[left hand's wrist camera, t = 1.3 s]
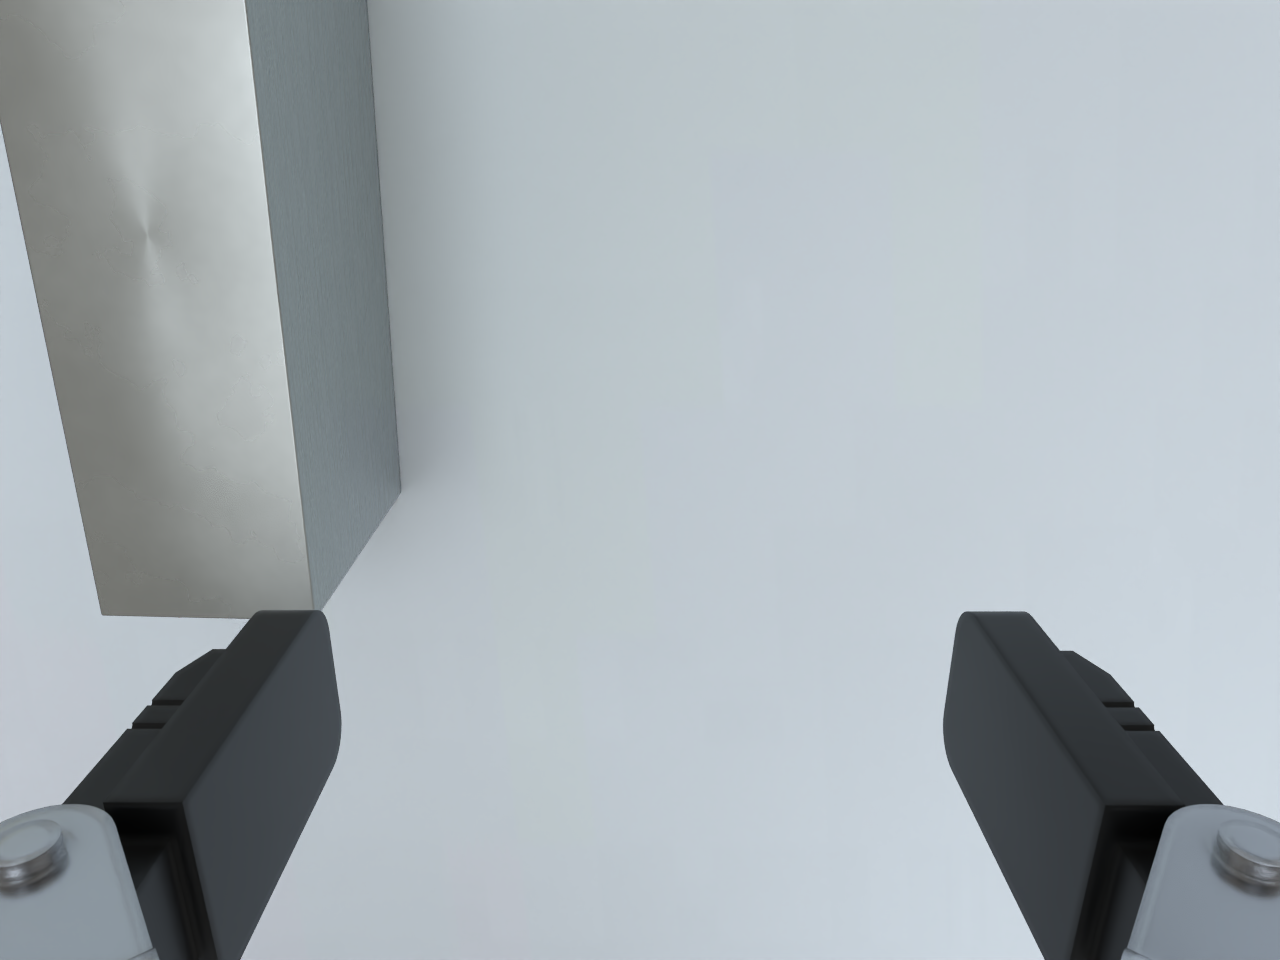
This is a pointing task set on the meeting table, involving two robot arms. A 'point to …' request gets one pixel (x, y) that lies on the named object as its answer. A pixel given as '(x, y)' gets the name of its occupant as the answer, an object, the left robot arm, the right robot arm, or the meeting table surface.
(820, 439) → the meeting table surface
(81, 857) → the left robot arm
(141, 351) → the box
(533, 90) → the meeting table surface
